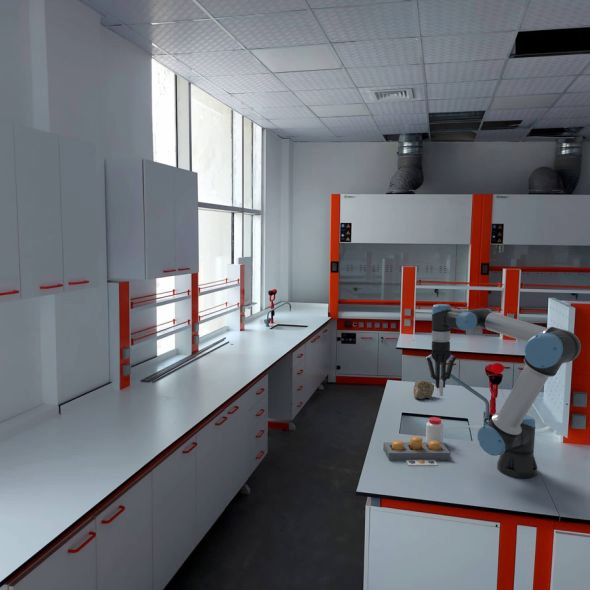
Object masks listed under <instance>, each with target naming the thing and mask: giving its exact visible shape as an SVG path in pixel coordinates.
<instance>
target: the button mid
mask: <svg viewBox="0 0 590 590" xmlns="http://www.w3.org/2000/svg"><path fill="white" fill-rule="evenodd" d="M409 439H410V441H409V442H410V449H411V450H422V442H423V438H422V437H420V436H411V437H410V438H409Z"/></svg>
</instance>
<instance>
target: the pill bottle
mask: <svg viewBox="0 0 590 590" xmlns="http://www.w3.org/2000/svg"><path fill="white" fill-rule="evenodd" d="M425 424H426V426H425V442H429V441H438V442H442V443H443V444H444V429H445V428H444V427H445V426H444V424H443V422H442V418H441V417H438V416H437V417H436V416H431V417H429V418H428V421H427V422H426V423H425Z"/></svg>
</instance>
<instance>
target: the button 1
mask: <svg viewBox="0 0 590 590" xmlns="http://www.w3.org/2000/svg"><path fill="white" fill-rule="evenodd" d="M403 442H404V441H401V440H393V441H392V450H404V443H403Z"/></svg>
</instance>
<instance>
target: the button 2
mask: <svg viewBox="0 0 590 590" xmlns="http://www.w3.org/2000/svg"><path fill="white" fill-rule="evenodd" d="M440 445H441V443H440V442H438V441H429V447H428V449H429V450H440Z"/></svg>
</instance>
